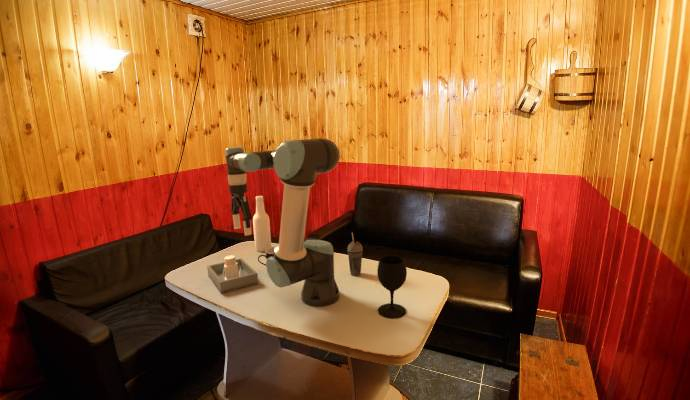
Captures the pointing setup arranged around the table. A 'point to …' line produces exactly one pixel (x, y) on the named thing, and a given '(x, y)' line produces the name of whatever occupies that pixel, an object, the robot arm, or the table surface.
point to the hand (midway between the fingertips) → (242, 231)
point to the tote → (245, 280)
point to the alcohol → (261, 227)
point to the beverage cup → (355, 257)
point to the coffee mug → (267, 254)
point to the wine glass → (392, 283)
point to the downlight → (231, 268)
